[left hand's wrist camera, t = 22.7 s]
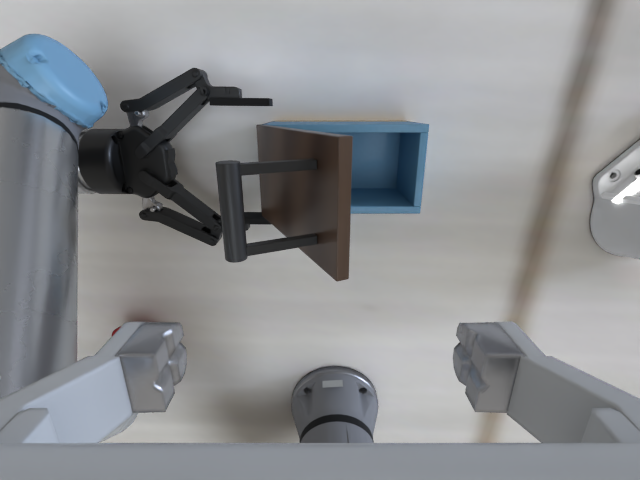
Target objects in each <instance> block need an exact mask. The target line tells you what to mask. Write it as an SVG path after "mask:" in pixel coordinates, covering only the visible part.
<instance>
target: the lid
mask: <svg viewBox="0 0 640 480" xmlns="http://www.w3.org/2000/svg"><path fill="white" fill-rule="evenodd" d="M257 142H258V158H259V162H249V163H240V162H239V161H219V162H216V171H217V181H218V191H219V201H220V211H221V220H222V230H223V240H224V250H225V259H226V261H228V262H241V261H244V260H246V259H247V256H250V255H256V254H262V253H268V252H274V251H280V250H286V249H292V248H299V249H301V250H302V251H303V252H304V253H305V254H306V255H307V256H308V257H310V258H311V259H312V260H313V261H314V262H315V263H316V264H318V265H319V266H320V267H321V268H322V269H323V270H324V271H325V272H327V273H328V274H329V275H330V276H331V277H332V278H333V279H334V280H336V281H341V280H346V279H348V278H349V246H350V213H351V180H352V147H353V136H349V135H341V134H334V133H326V132H318V131H310V130H303V129H295V128H287V127H279V126H271V125H257ZM253 174H259V175H260V192H261V208H262V216H263V217H264V218H265V219H267V220H268V221H269V222H270V223H271V224H272V225H273V226H275V227H276V228H277V229H278V230H279V231H280V232H281V233H282V234H284V235H285V236H286V237H287V238H280V239H274V240H267V241H261V242H255V243H248V244H246V231H245V218H244V205H243V193H242V180H241V175H253Z"/></svg>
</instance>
